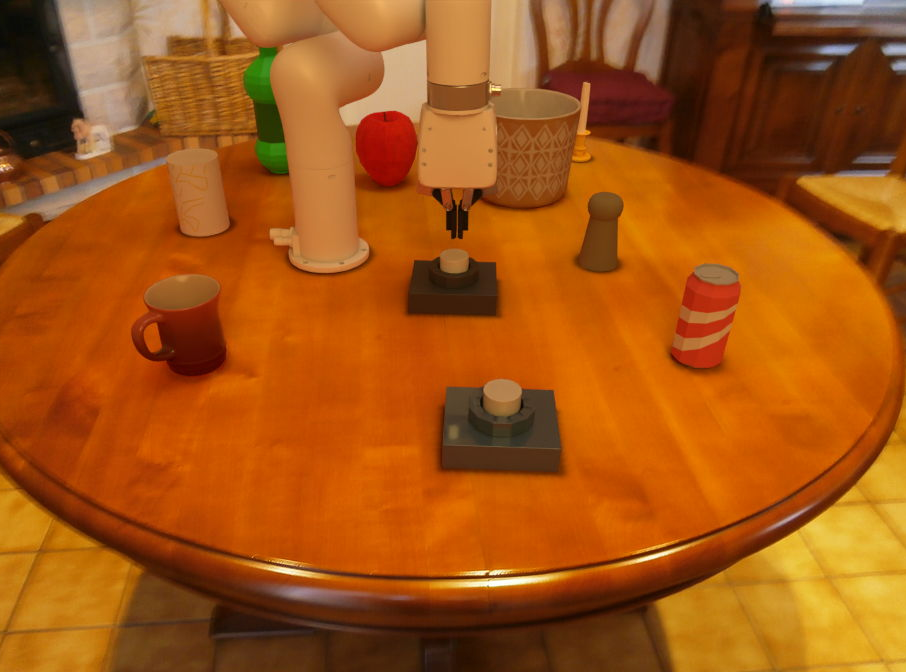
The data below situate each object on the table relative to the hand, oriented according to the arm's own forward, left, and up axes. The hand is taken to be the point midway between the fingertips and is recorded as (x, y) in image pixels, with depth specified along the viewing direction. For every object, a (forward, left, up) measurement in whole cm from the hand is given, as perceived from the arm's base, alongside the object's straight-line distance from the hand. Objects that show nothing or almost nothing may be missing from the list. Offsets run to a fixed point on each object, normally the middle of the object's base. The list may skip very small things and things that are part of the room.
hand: (457, 234), depth 100 cm
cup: (-43, +22, -10) cm, 50 cm away
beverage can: (+31, -14, -10) cm, 35 cm away
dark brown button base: (0, 0, -10) cm, 10 cm away
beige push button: (+6, -31, -5) cm, 32 cm away
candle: (+24, +60, -10) cm, 65 cm away
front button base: (+6, -31, -10) cm, 33 cm away
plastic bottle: (-36, +50, -10) cm, 63 cm away
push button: (0, 0, -5) cm, 5 cm away
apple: (-14, +44, -10) cm, 48 cm away
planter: (+11, +40, -10) cm, 43 cm away
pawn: (+22, +12, -10) cm, 27 cm away
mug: (-32, -20, -10) cm, 39 cm away
